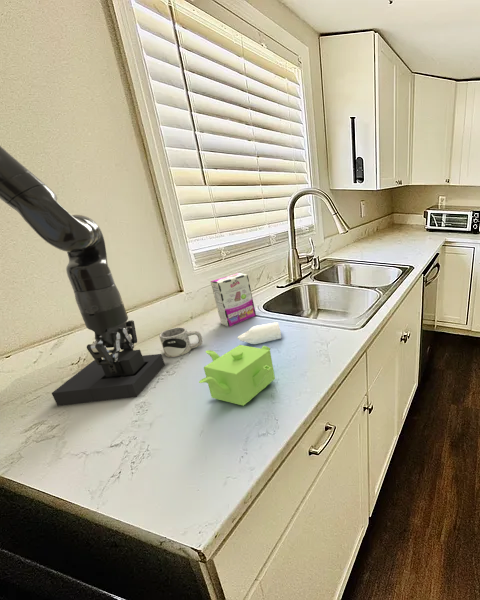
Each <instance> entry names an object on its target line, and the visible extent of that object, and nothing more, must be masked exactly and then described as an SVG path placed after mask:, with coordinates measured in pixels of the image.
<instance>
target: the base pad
mask: <svg viewBox="0 0 480 600" xmlns="http://www.w3.org/2000/svg"><path fill="white" fill-rule="evenodd" d="M142 357H143V360H144V362H145V363H144V364H143V365H142V366H141V367H140V368H139V369H138V370H137V371H136V372H135V373H134V374H130V375H121V376H111V377H106V376H105V373H104V371H103V368H102V366H101V365H98V364H97V363H96V361H95V360H94V359H93V360H92V361H91V362H90V363H88V364H87V365H85V366H84V367H83V368H82V369H80V370H79V371H78V372H77V373H76V374H74V375H73V376H72V377H70V378H69V379H67V380H66V381H65V382H64V383H62V384H61V385H60V386H59V387H57V388H56V389H55V390H53V391H52V392H51V395H52V398H53V400H54V402H55V405H57V407H62V406H70V405H80V404H87V403H88V404H89V403H96V402H104V401H114V400H121V399H122V400H123V399H131V398H137V397H138V396H139V395H140V394H141V393H142V392H144V390H145V389H146V387H148V385H149V384H150V383H152V381H153V380H154V378H155V377H156V376H157V375H158V374H159V373H160V371H161V370H162V369H163V368H164V367H165V366H166V365H165V364H166V363H165V361H164V358H163V354H162V353H155V354H145V355H142Z"/></svg>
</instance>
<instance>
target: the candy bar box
mask: <svg viewBox="0 0 480 600" xmlns="http://www.w3.org/2000/svg"><path fill="white" fill-rule="evenodd" d="M210 284H211V289H212V292H213V297H214V301H215V304H216V308H217V313H218V317H219V320H220V324H221V325H222V326H225V327H228V328H231V327H233V326H234V325H237V324H239V323H242V322H244V321H247V320H250V319H251V318H254V317H257V314H256V307H255V303H254V299H253V294H252V289H251V285H250V279H249V274H248V273H245V272H244V273H243V272H238V273H234V274H231V275H227V276H223V277H220V278H216V279H213V280H210Z"/></svg>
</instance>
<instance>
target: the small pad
mask: <svg viewBox="0 0 480 600" xmlns="http://www.w3.org/2000/svg"><path fill="white" fill-rule="evenodd" d="M109 355H110V356H111V358H113V355H112V353H109ZM142 356H143V354H142V351H141V349H133V350H131V351H122V350H120V351H119V352H118V357H119V361H120V363H121V366H122V369H123V371H124V374H123V375H130V374H134V373H135V372H136V371H137V370H138V369H139V368H140V367H141V366H142V365H143V364H144V363H145V362H144V360H143V357H142ZM101 366H102V368H103V371H104V373H105V376H106V377H111V376H112V375H111V373H110V370H109V368H108V365H101Z"/></svg>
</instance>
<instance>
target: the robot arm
mask: <svg viewBox="0 0 480 600" xmlns="http://www.w3.org/2000/svg"><path fill="white" fill-rule="evenodd" d="M0 200H1V201H2V202H3V203H5V204H6V205H7V206H9V208H11V209H13V210H14V211H16V213H18V214H19V215H20V216H21V218H22V219H23V220H24V221H25V222H26V223H27V225H29V227H30V228H31V229H32V230H33V231H34V232H35V233H36V234H37V235H38V236H39V237H40V238H41V239H42V240H43V241H45V243H47V244H49V245H50V246H52V247H54V248H55V249H57V250H59V251H62V252H66V253H67V257H68V263H67V265H66V268H65V272H66V275H67V278H68V280H69V283H70V286H71V289H72V290H73V294H74V298H75V299H74V300H75V302H76V305H77V307H78V310H79V312H80V315H81V317H82V320H83V322H84V325H85V327H86V329H87V330H90V331H92V332H93V333H94V342H93V343H90V344H87V345H86V350H87V351H88V353H89V354H90V356H91V357H92V359H93V361H94V360H95V361H96V363H97V364H98V365H108V368H109V370H110V373H111V375H112V376H121V375H123V374H124V371H123V369H122V366H121V363H120V361H119V357H118V352H121V351H131V350H134V348H135V344H137V343H138V336H137V331H136V326H135V321H134V320H133V319H131V320H129V315H128V313H127V309H126V307H125V304H124V300H123V298H122V295H121V292H120V290H119V289H118V287H117V285H116V283H115V279H114V277H113V274H112V271H111V268H110V266H109V264H108V253H107V248H106V242H105V237H104V234H103V232H102V230H101V228H100V225H99V224H98V223H97V222H96V221H95V220H93V219H92V218H90V217H89V216H85V215H83V214H71V213H70V212H69V211H68V210H67V209H65V207H64V206H62V205H61V204H60V202H58V195H57V194H56V192H55V191H54V190H52V189H51V188H50V187H49V186H48V185H47V184H46V183H44V182H43V181H42V180H41V179H40V178H39V177H38V176H36V175H35V173H33V172H31V171H30V170H29V169H28V168H27V167H26V166H24V165H23V164H22V163H21V162H20V161H18V160H17V158H15V157H14V156H13V155H12V154H11V153H9V152H8V151H7V150H6V149H5V148H3V147H2V146H1V145H0ZM110 354H112V355H113V358H111V356H110Z"/></svg>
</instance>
